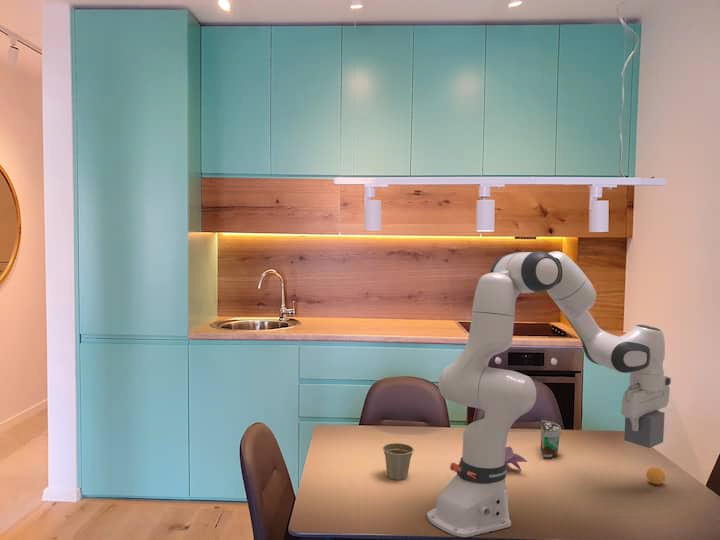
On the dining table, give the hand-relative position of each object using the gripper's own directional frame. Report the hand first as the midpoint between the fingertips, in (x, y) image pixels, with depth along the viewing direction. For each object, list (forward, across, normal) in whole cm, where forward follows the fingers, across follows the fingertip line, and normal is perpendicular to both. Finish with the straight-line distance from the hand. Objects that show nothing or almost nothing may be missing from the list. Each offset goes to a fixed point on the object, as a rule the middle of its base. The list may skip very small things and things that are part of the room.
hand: (644, 427), depth 176 cm
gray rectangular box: (+4, 0, 0) cm, 4 cm away
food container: (+19, +1, +32) cm, 37 cm away
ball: (+16, +7, -1) cm, 18 cm away
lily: (+18, -22, +31) cm, 43 cm away
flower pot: (+18, -54, +47) cm, 74 cm away
